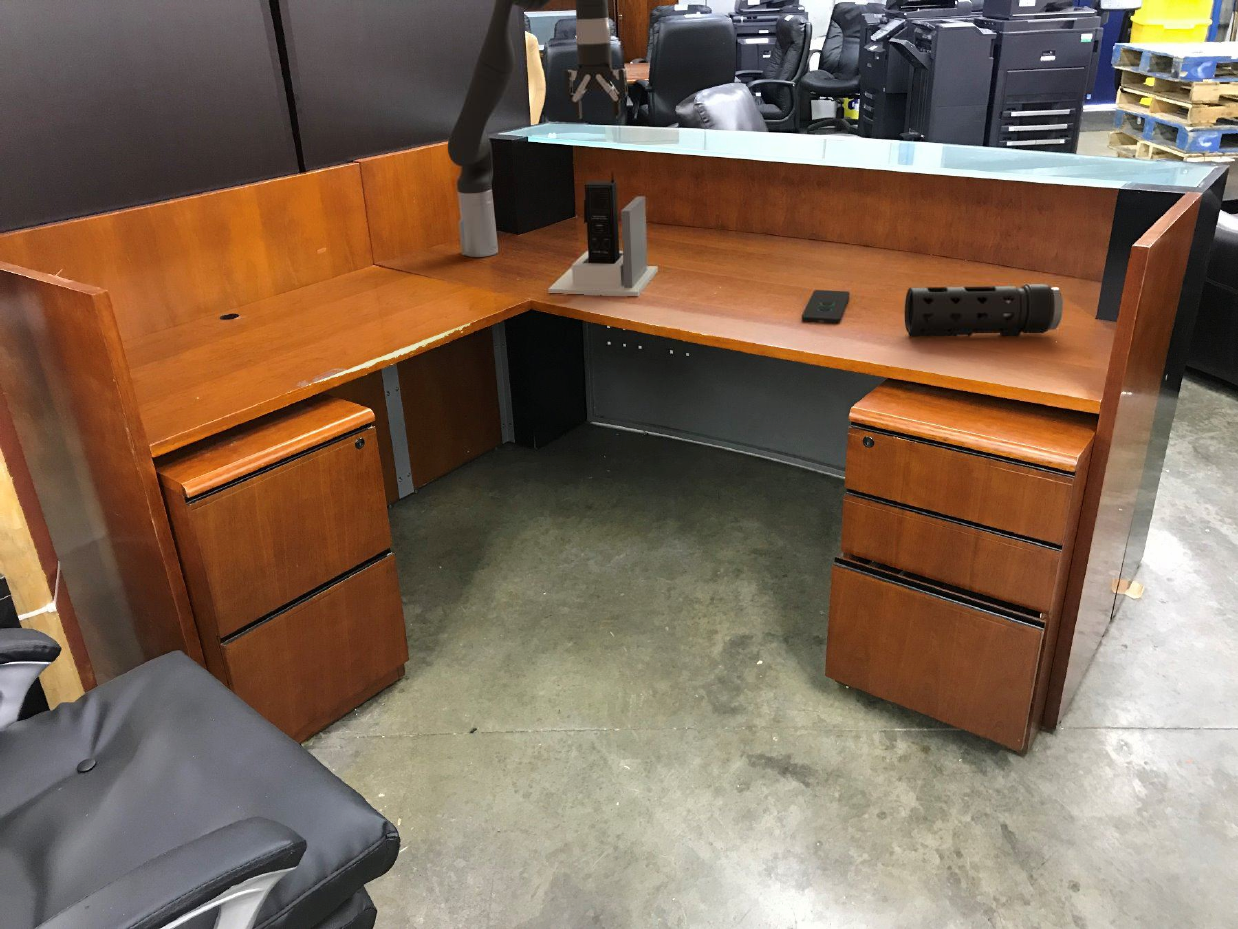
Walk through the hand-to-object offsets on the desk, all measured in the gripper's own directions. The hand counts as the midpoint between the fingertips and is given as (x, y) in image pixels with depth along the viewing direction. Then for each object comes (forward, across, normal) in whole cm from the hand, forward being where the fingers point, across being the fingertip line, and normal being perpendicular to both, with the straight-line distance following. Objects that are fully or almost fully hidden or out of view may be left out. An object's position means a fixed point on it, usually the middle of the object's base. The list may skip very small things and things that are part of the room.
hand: (597, 118), depth 219 cm
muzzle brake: (+39, +84, -30) cm, 98 cm away
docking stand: (+38, 0, 0) cm, 38 cm away
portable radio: (+37, -1, 0) cm, 37 cm away
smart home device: (+39, +54, -15) cm, 68 cm away
